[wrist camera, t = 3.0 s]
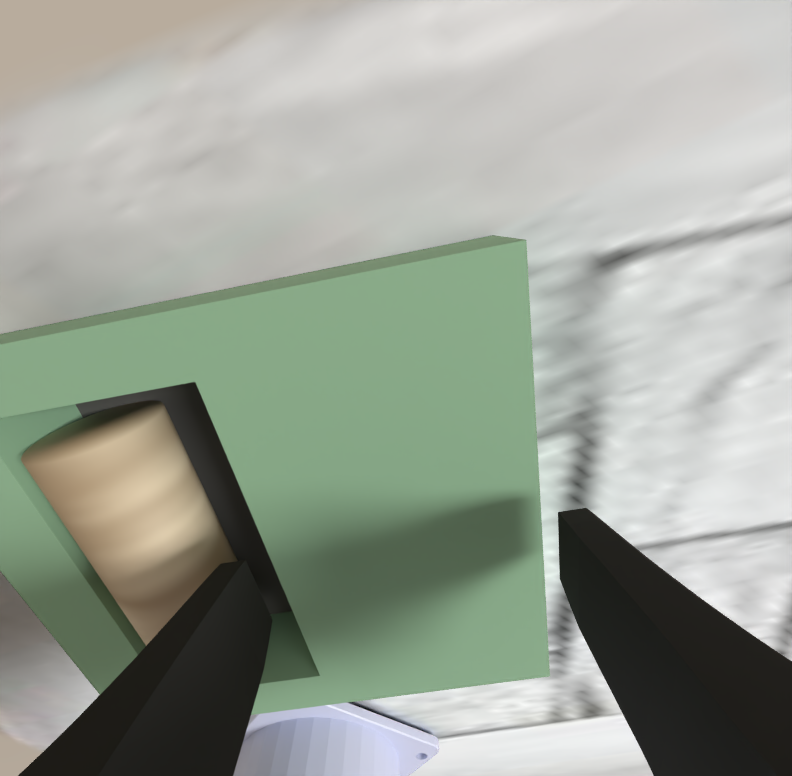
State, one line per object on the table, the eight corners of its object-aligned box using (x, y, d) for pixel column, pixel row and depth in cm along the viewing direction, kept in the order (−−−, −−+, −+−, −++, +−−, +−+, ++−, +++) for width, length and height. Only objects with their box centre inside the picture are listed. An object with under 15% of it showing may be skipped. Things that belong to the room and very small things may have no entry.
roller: (218, 591, 15) (281, 609, 13) (146, 674, 12) (215, 705, 11) (119, 400, 11) (189, 400, 10) (-6, 459, 9) (67, 469, 8)
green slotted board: (493, 235, 9) (526, 239, 7) (524, 603, 15) (549, 676, 12) (-35, 341, 10) (-157, 375, 8) (167, 654, 15) (129, 730, 13)
